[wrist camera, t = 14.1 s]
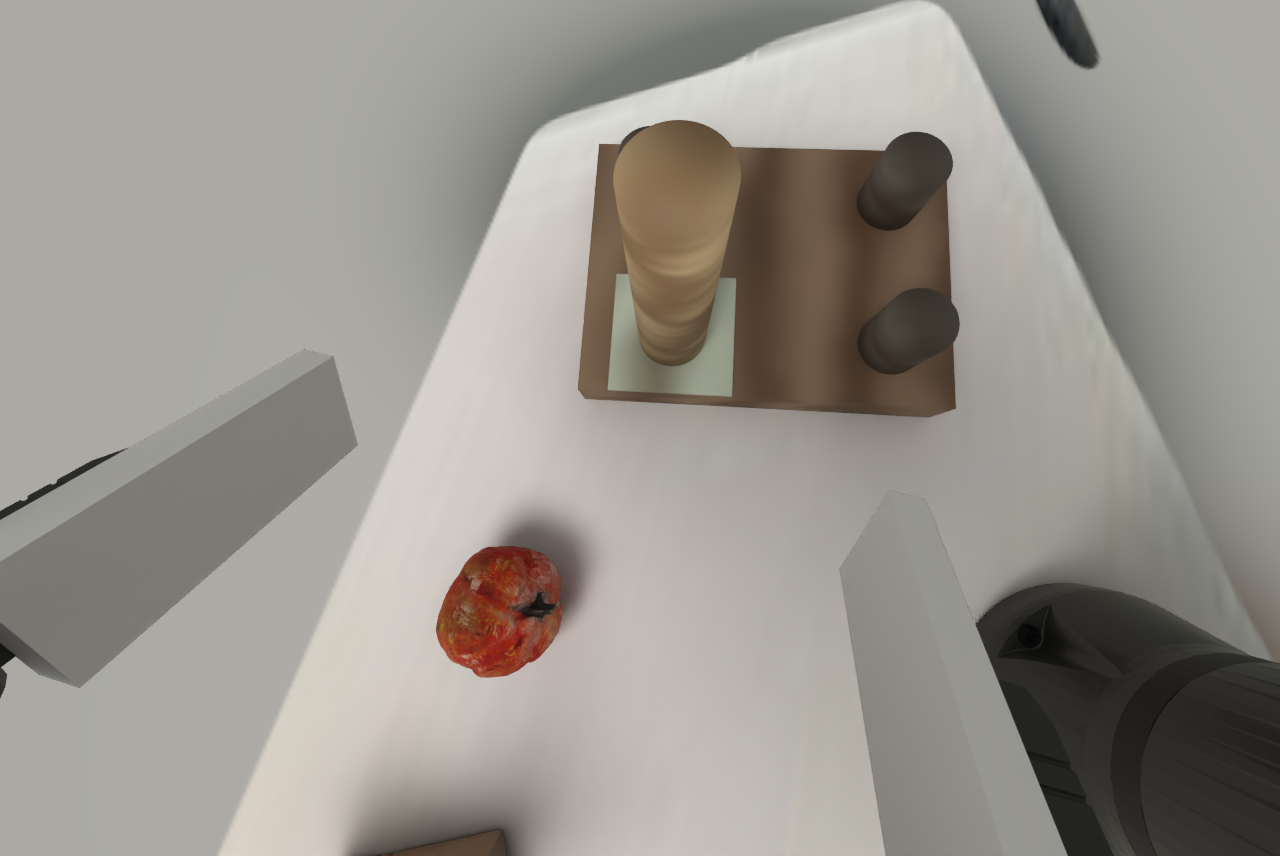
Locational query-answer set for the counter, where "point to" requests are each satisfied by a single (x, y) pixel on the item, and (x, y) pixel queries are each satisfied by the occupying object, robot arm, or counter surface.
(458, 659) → the pomegranate
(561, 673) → the counter surface
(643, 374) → the wooden board with knobs
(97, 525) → the robot arm
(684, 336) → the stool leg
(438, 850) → the brown wooden angled piece
